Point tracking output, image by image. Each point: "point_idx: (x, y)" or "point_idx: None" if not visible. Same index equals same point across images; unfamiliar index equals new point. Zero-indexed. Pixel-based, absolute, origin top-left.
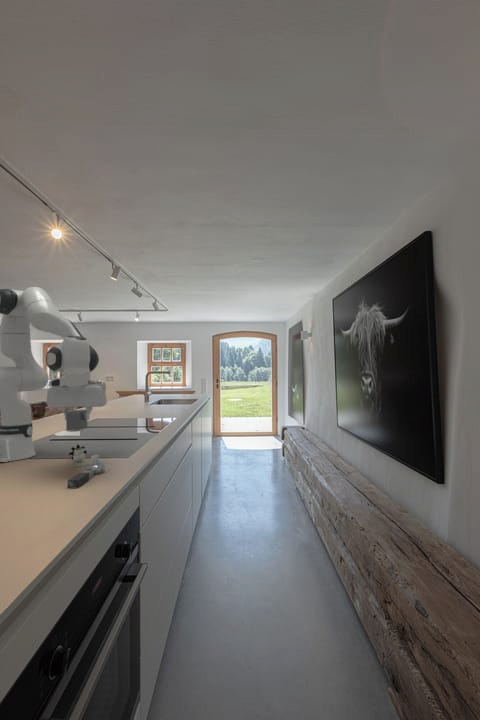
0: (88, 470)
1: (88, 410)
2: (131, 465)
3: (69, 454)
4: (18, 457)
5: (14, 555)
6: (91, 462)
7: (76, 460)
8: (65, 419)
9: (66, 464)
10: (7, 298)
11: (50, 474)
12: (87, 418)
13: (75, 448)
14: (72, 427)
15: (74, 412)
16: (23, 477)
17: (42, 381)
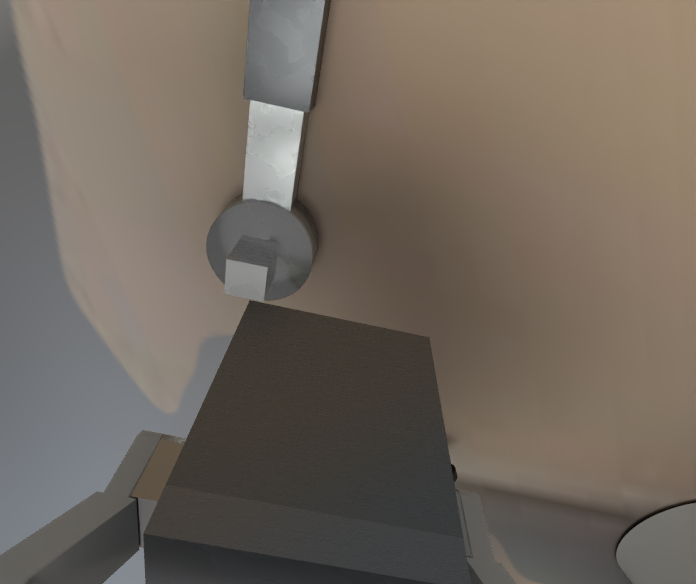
0: (273, 170)
1: (8, 567)
2: (119, 314)
3: (453, 466)
4: (692, 516)
5: None
6: (271, 249)
7: None
8: (473, 495)
9: (454, 402)
10: None
11: (504, 258)
12: (135, 449)
13: None
14: (352, 340)
15: (289, 533)
16: (643, 238)
17: None
